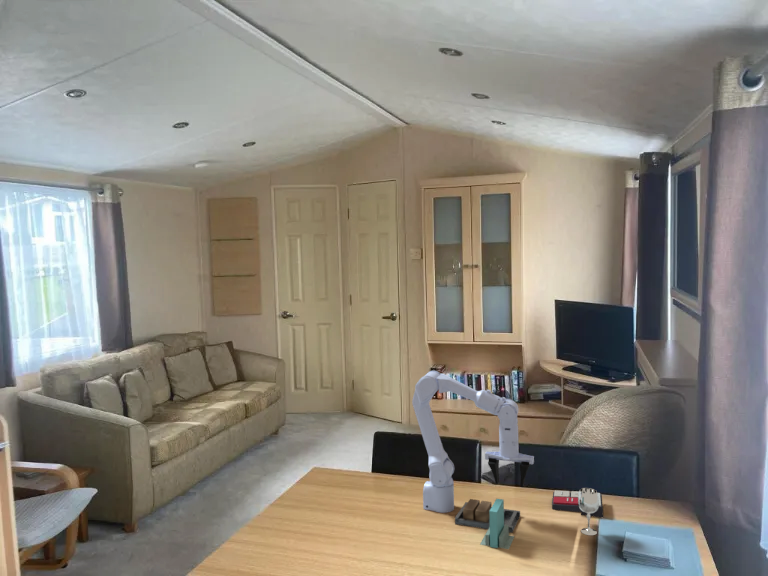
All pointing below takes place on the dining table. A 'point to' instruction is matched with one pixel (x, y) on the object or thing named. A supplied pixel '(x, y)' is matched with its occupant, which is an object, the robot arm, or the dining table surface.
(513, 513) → the rack
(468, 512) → the offcut
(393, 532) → the dining table surface
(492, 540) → the teal flat block
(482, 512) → the offcut
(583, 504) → the wineglass
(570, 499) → the black red box
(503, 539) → the stand
